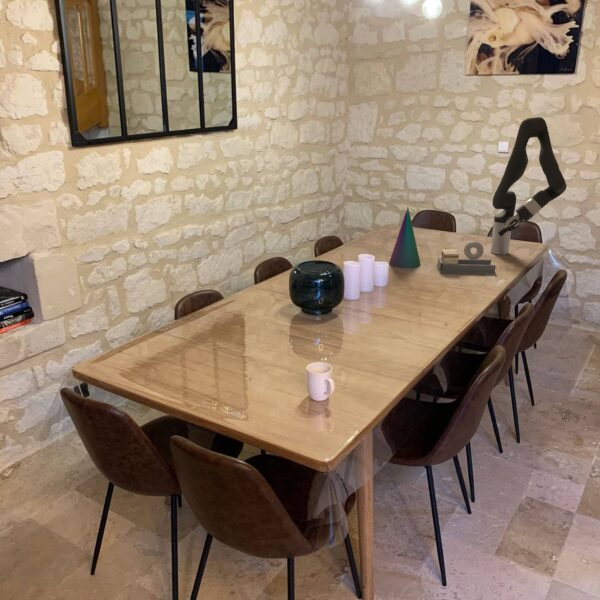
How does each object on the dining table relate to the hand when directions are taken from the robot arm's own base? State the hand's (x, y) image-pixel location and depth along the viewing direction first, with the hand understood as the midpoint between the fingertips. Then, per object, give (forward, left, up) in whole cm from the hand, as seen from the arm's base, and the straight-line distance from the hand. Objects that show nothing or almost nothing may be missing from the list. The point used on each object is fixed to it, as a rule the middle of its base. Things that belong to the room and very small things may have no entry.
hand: (499, 234), depth 283 cm
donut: (-19, -7, -18) cm, 27 cm away
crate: (0, -22, -17) cm, 28 cm away
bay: (0, -14, -18) cm, 23 cm away
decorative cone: (-9, -43, -18) cm, 48 cm away
